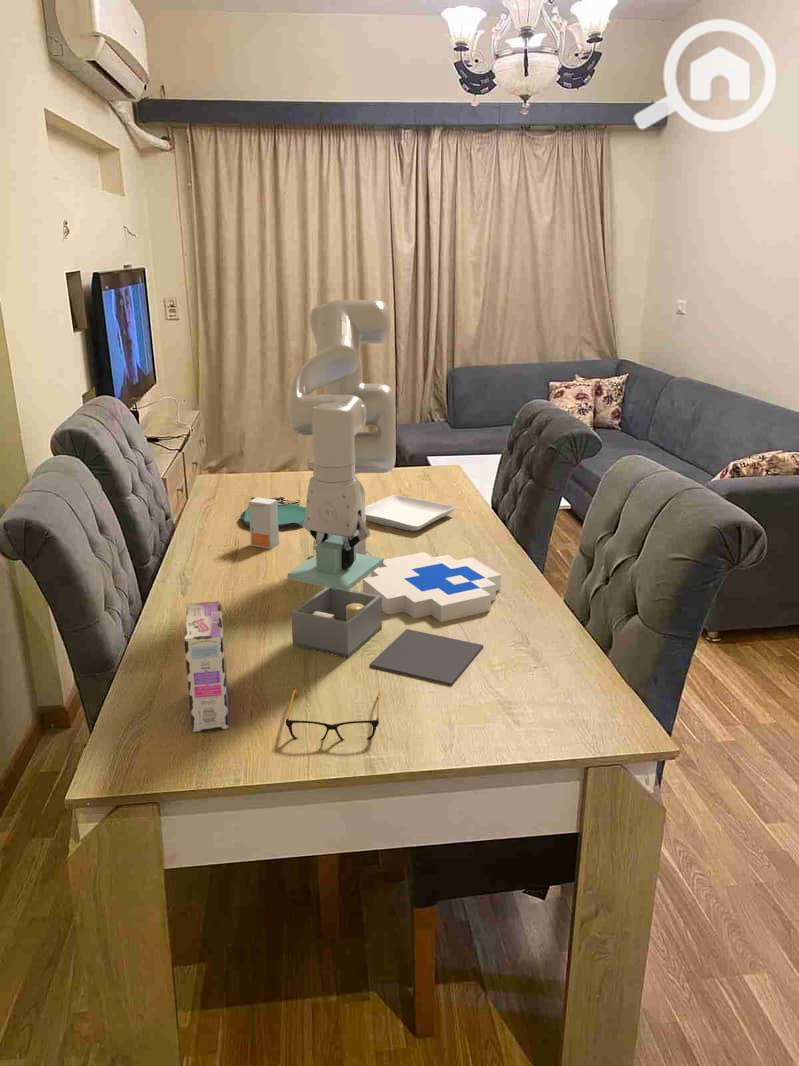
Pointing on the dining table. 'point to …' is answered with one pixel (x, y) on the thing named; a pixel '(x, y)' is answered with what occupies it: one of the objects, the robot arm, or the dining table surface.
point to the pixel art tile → (434, 586)
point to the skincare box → (264, 522)
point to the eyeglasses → (328, 726)
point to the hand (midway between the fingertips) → (336, 564)
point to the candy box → (206, 666)
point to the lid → (334, 566)
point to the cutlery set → (283, 514)
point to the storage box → (336, 621)
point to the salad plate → (406, 512)
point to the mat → (427, 656)
